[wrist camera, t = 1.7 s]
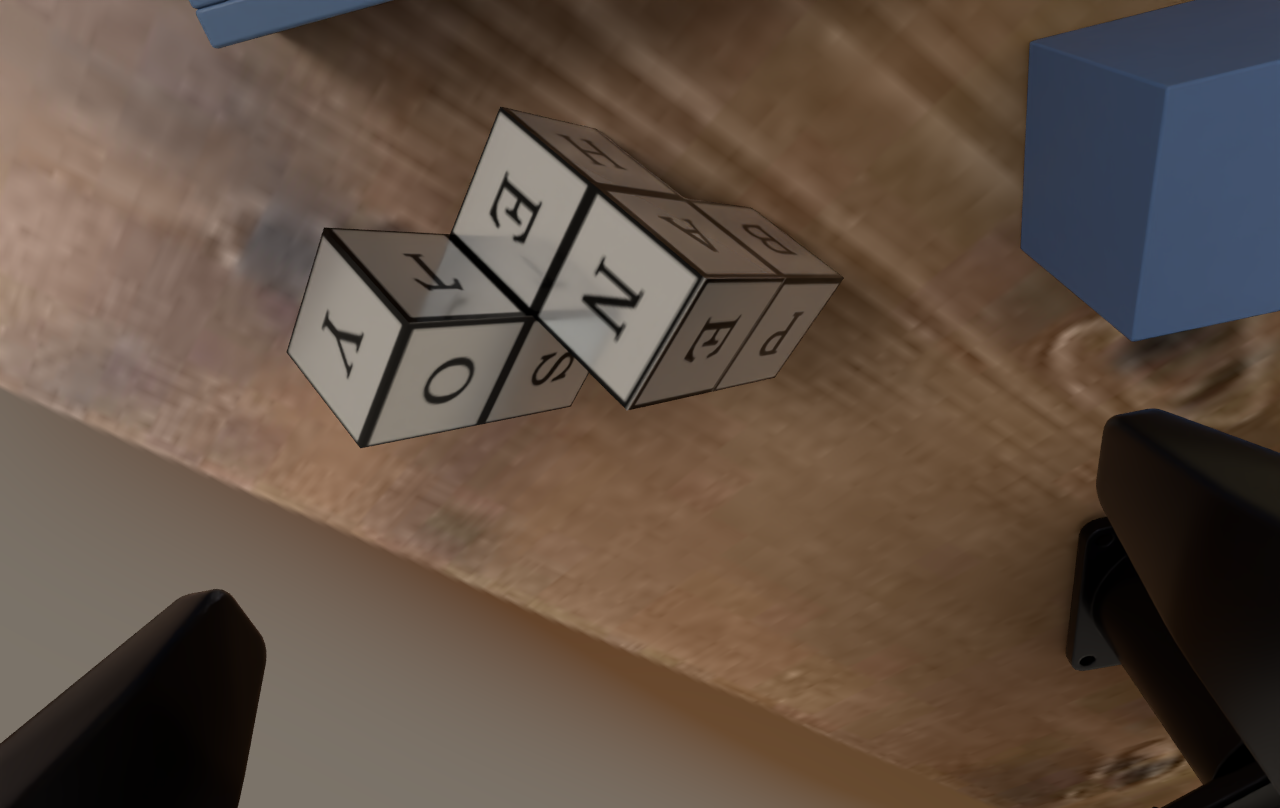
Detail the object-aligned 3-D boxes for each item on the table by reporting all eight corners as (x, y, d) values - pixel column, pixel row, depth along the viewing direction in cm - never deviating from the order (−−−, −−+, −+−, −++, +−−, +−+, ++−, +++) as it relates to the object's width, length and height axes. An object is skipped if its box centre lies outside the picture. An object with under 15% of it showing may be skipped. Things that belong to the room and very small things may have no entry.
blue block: (1223, 202, 17) (1396, 287, 14) (1019, 249, 18) (1131, 343, 14) (1266, -19, 15) (1490, 8, 11) (1028, 40, 15) (1167, 87, 11)
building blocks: (670, 146, 18) (369, 76, 12) (843, 278, 16) (590, 279, 10) (575, 328, 20) (286, 352, 14) (714, 463, 18) (447, 560, 12)
